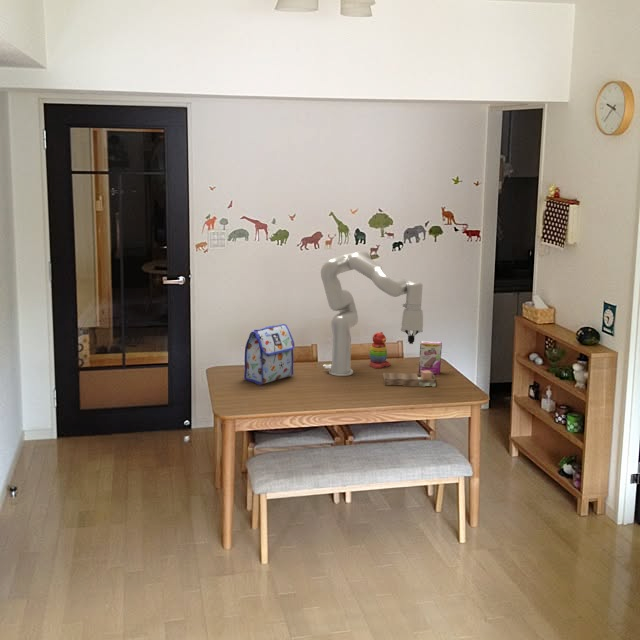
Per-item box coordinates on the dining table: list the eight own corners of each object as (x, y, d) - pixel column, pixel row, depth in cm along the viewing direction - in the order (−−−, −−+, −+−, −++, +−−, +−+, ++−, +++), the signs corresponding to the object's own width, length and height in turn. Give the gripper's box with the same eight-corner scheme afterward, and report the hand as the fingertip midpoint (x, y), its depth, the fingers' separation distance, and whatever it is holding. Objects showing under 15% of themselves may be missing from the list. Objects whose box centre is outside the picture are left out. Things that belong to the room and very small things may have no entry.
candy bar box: (418, 373, 440) (420, 343, 437) (418, 371, 445) (419, 340, 441) (440, 374, 439) (442, 344, 435) (440, 372, 444) (441, 341, 440)
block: (423, 380, 421) (423, 373, 420) (420, 378, 425) (421, 370, 424) (431, 380, 422) (431, 372, 421) (429, 378, 426) (429, 370, 425)
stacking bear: (378, 369, 447) (379, 336, 443) (364, 365, 454) (365, 332, 450) (392, 365, 454) (393, 333, 450) (378, 361, 461) (379, 329, 457)
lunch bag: (264, 387, 413) (264, 333, 407) (241, 379, 424) (241, 327, 418) (297, 377, 430) (298, 326, 424) (274, 371, 441) (274, 320, 434)
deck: (384, 385, 419) (384, 378, 418) (383, 376, 434) (383, 370, 433) (435, 386, 419) (435, 379, 418) (432, 377, 433) (432, 371, 433)
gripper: (398, 307, 411) (396, 344, 415) (429, 309, 410) (426, 346, 415) (397, 304, 418) (395, 340, 422) (427, 305, 418) (425, 342, 422)
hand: (410, 343), depth 418 cm, fingers closed
